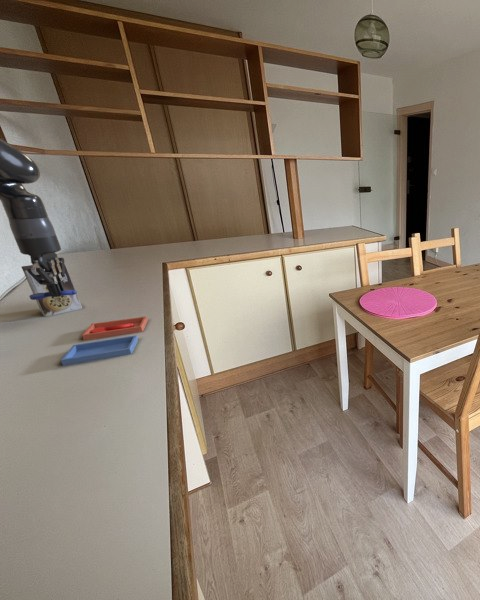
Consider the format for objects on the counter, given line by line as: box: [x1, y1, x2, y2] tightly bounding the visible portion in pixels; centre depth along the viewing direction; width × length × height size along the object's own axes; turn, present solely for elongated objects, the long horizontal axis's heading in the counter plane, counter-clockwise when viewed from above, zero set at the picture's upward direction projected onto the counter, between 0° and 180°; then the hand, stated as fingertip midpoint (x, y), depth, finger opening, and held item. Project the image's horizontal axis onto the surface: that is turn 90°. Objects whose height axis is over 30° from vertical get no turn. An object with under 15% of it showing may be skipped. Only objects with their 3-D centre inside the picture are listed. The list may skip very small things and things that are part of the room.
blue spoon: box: [28, 289, 78, 301], centre depth 89 cm, size 10×3×1 cm, turn 114°
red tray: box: [81, 316, 149, 341], centre depth 93 cm, size 13×8×2 cm, turn 118°
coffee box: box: [21, 264, 83, 317], centre depth 102 cm, size 9×6×16 cm
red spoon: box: [91, 323, 134, 333], centre depth 93 cm, size 10×3×1 cm, turn 118°
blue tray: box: [60, 334, 139, 367], centre depth 82 cm, size 13×8×2 cm, turn 118°
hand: (58, 295), depth 90 cm, fingers closed on blue spoon, 1 cm apart
